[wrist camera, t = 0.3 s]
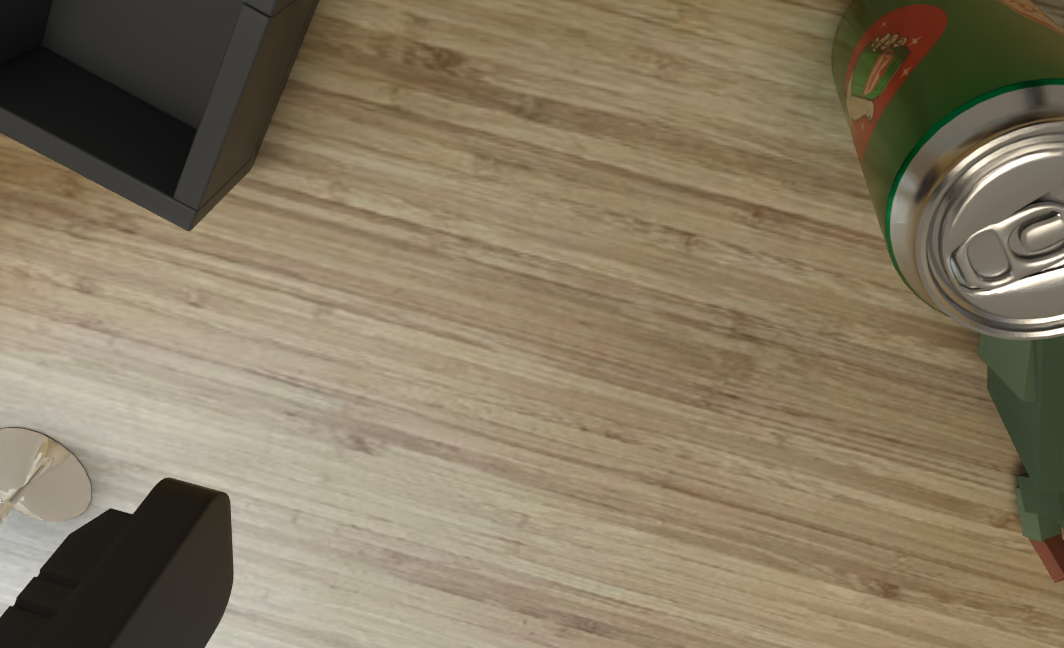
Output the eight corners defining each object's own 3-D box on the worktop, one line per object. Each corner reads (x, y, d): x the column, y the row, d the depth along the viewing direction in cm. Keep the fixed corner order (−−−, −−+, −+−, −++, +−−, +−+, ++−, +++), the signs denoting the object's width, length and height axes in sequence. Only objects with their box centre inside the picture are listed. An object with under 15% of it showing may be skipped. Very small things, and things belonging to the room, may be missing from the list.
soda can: (1050, 77, 28) (1242, 290, 18) (873, 161, 30) (956, 396, 20) (982, -90, 26) (1153, 42, 16) (798, 11, 28) (847, 186, 18)
